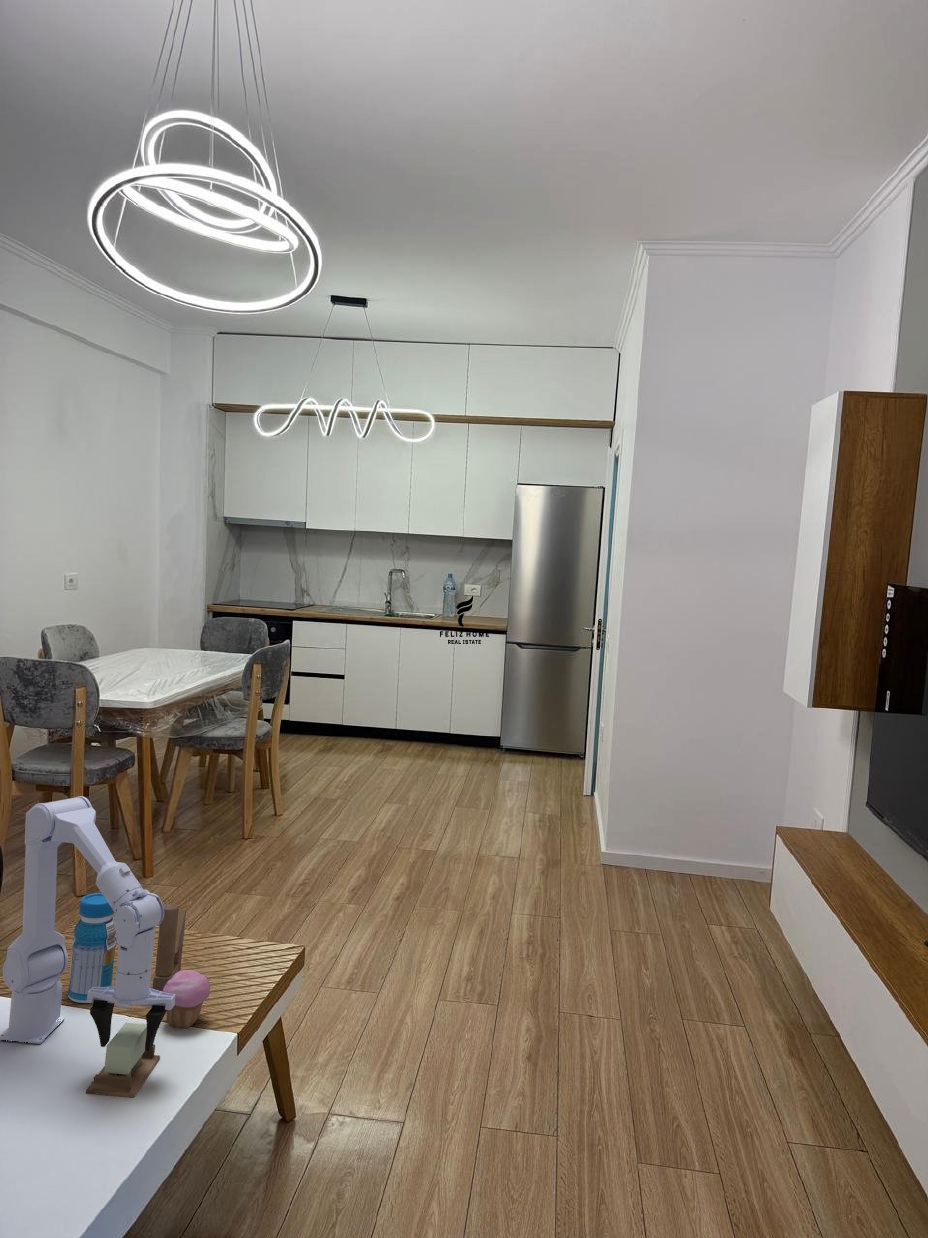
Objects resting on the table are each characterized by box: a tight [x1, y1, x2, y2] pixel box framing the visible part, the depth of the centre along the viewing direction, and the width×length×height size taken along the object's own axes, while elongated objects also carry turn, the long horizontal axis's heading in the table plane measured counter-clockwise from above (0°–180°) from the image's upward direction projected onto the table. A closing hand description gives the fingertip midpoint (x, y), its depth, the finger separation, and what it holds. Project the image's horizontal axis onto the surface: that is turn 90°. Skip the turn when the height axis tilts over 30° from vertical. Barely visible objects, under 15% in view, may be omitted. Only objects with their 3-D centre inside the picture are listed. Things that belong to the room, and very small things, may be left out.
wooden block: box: [152, 903, 187, 992], centre depth 179 cm, size 4×11×18 cm, turn 7°
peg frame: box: [85, 1043, 161, 1098], centre depth 144 cm, size 12×8×3 cm, turn 0°
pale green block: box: [104, 1022, 147, 1075], centre depth 144 cm, size 8×4×4 cm, turn 0°
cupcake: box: [163, 969, 211, 1029], centre depth 163 cm, size 9×9×10 cm
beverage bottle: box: [67, 892, 117, 1004], centre depth 171 cm, size 8×8×20 cm
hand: (127, 1046), depth 144 cm, fingers open, 7 cm apart
